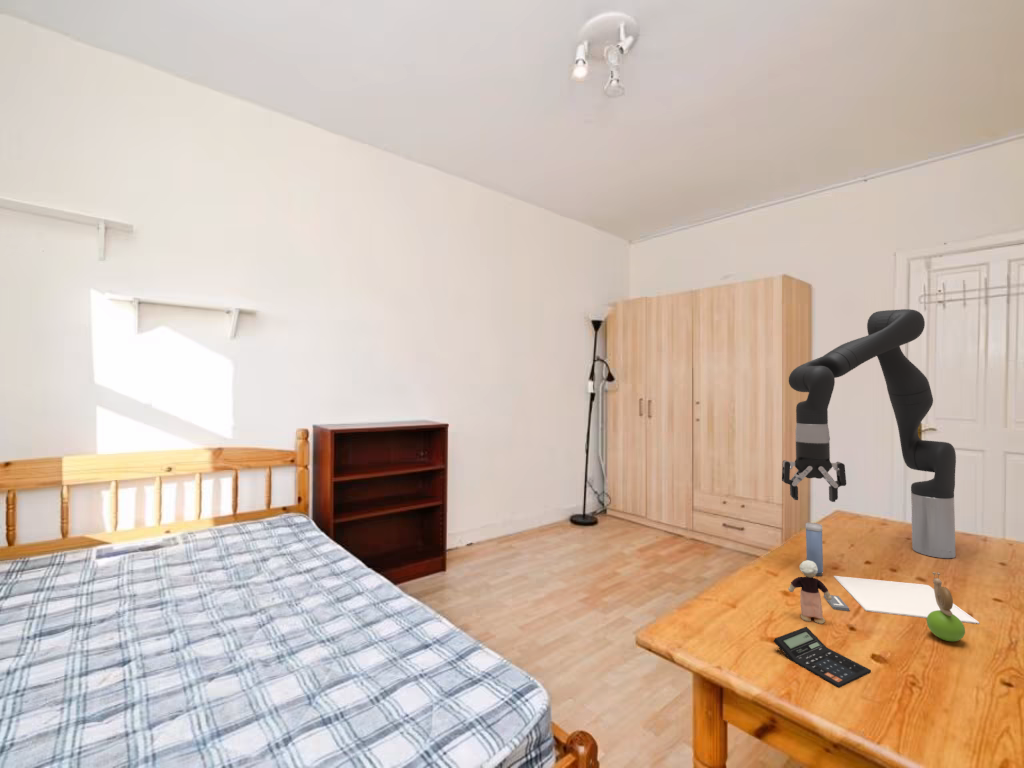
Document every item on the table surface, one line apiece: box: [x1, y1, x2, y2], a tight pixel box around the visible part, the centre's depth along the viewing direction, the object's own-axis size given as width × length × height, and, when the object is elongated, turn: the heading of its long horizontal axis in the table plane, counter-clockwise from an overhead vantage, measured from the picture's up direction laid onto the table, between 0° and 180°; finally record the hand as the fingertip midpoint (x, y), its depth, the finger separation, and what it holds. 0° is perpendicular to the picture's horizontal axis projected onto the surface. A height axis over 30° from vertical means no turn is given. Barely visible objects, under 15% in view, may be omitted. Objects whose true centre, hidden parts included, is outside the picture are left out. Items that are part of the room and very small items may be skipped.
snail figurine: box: [926, 571, 966, 642], centre depth 87 cm, size 5×6×12 cm
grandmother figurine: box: [788, 559, 832, 624], centre depth 95 cm, size 8×4×13 cm, turn 71°
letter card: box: [823, 594, 850, 612], centre depth 101 cm, size 6×3×1 cm, turn 162°
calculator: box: [773, 626, 872, 689], centre depth 81 cm, size 9×12×3 cm
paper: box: [833, 575, 980, 625], centre depth 103 cm, size 18×20×1 cm
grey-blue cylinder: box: [805, 522, 824, 577], centre depth 117 cm, size 4×4×13 cm
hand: (813, 500), depth 117 cm, fingers open, 8 cm apart
